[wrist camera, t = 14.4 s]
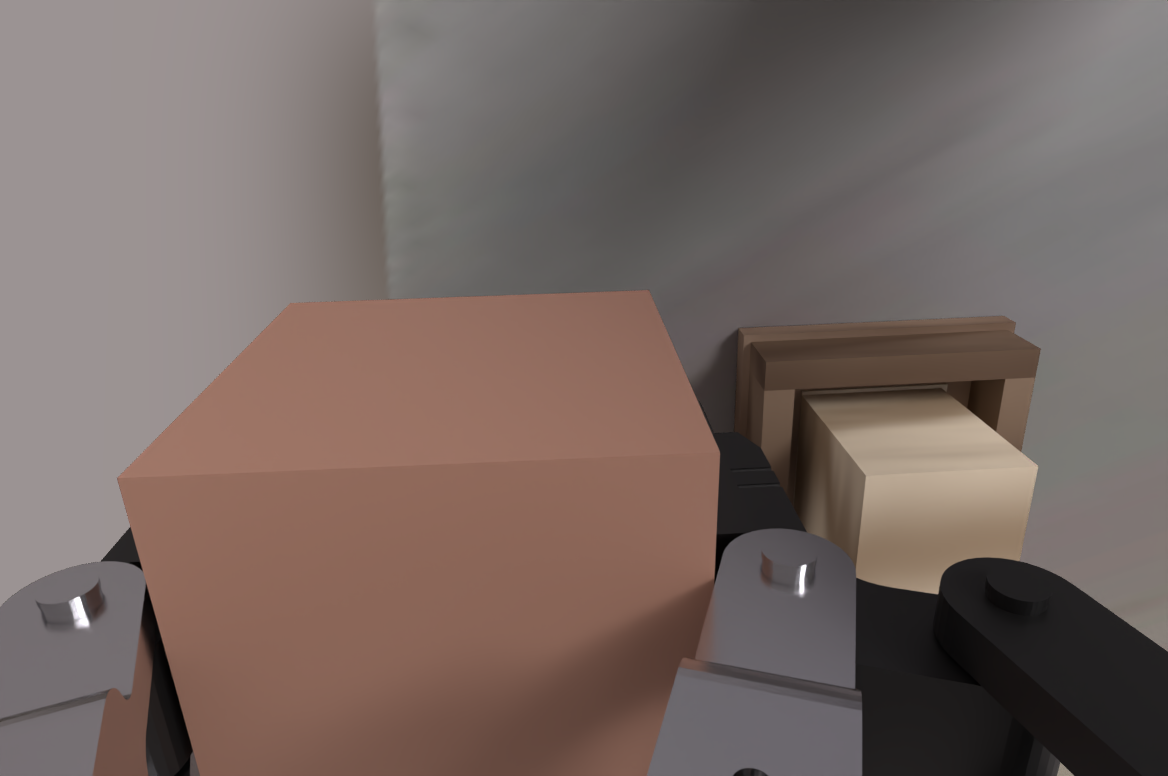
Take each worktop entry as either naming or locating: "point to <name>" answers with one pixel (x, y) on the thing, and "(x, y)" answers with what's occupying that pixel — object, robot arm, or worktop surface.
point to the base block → (909, 484)
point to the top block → (433, 539)
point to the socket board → (879, 374)
